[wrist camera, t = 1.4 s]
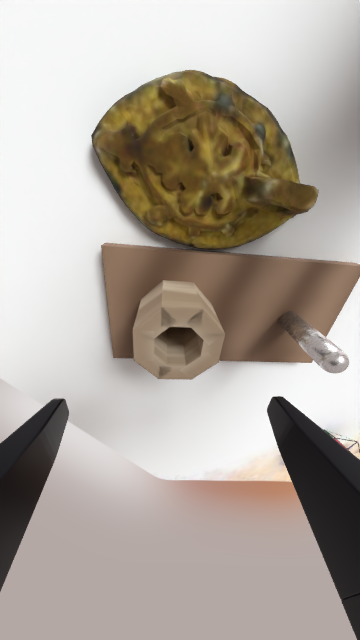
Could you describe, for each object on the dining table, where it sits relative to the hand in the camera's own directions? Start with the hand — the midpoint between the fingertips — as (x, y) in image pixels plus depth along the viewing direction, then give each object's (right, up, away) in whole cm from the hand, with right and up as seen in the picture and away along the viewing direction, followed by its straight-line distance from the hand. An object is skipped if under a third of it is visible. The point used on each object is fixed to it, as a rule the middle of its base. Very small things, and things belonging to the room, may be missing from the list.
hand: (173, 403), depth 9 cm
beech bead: (0, +4, +9) cm, 10 cm away
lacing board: (+5, +5, +11) cm, 13 cm away
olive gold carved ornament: (+2, +14, +6) cm, 15 cm away
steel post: (+11, +4, +11) cm, 16 cm away
